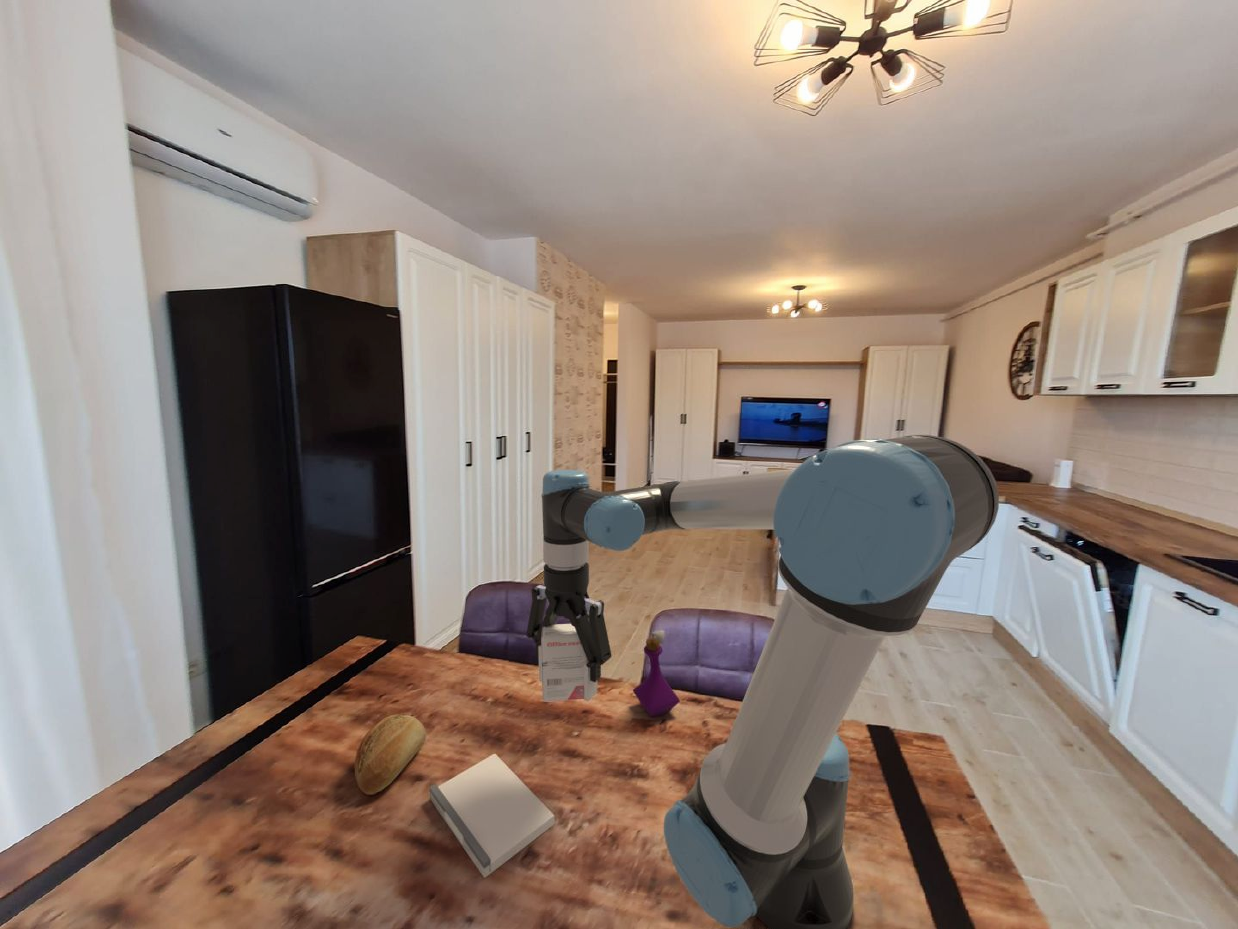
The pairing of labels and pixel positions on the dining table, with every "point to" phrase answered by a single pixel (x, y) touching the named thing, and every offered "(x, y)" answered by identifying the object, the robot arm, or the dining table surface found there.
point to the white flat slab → (491, 812)
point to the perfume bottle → (655, 681)
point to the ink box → (562, 663)
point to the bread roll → (387, 751)
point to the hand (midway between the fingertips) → (567, 686)
